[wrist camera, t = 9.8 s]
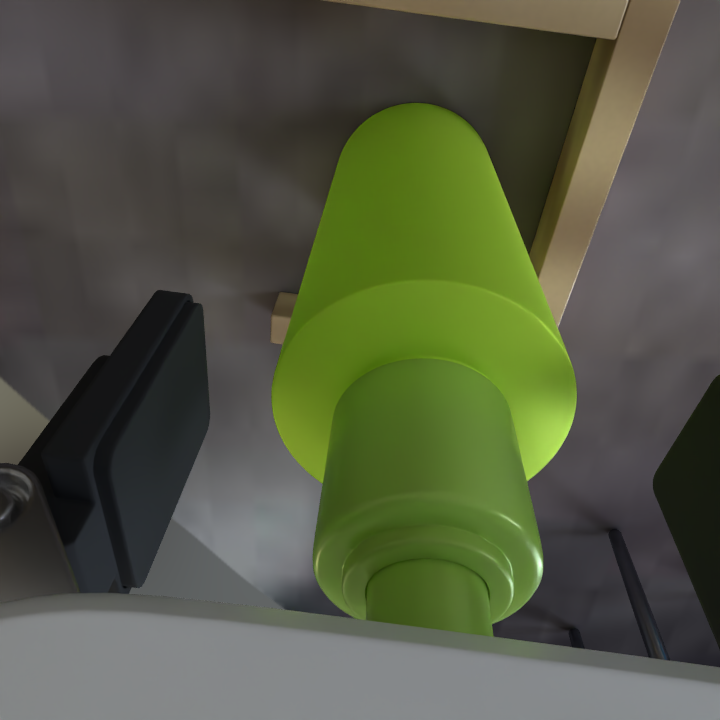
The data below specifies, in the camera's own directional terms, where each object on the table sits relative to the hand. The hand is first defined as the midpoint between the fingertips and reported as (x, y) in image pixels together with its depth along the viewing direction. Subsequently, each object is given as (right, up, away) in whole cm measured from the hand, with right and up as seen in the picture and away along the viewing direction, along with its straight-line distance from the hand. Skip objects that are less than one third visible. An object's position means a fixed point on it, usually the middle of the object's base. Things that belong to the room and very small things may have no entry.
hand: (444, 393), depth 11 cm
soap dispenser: (0, +7, +11) cm, 13 cm away
